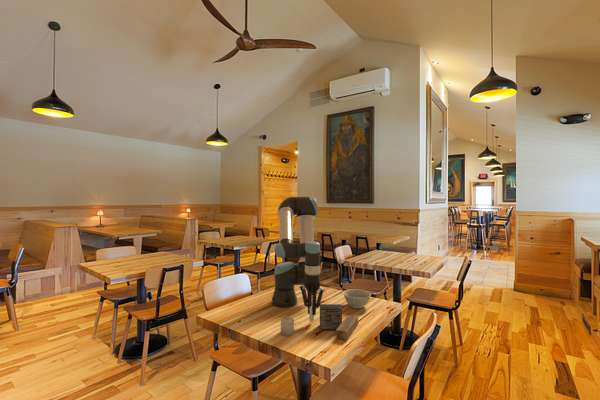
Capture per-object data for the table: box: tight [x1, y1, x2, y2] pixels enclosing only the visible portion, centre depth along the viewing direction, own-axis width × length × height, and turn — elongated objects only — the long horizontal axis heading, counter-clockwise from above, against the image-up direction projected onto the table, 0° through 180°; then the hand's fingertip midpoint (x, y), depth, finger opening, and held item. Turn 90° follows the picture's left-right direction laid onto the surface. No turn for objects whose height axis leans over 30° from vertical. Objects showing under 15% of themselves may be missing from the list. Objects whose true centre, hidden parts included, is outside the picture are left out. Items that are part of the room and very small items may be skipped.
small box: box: [319, 303, 343, 331], centre depth 142 cm, size 11×6×10 cm, turn 87°
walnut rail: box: [335, 314, 359, 342], centre depth 138 cm, size 5×18×4 cm, turn 154°
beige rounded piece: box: [280, 317, 295, 337], centre depth 136 cm, size 6×6×6 cm
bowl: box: [342, 288, 372, 309], centre depth 169 cm, size 16×16×8 cm
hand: (311, 320), depth 145 cm, fingers closed
